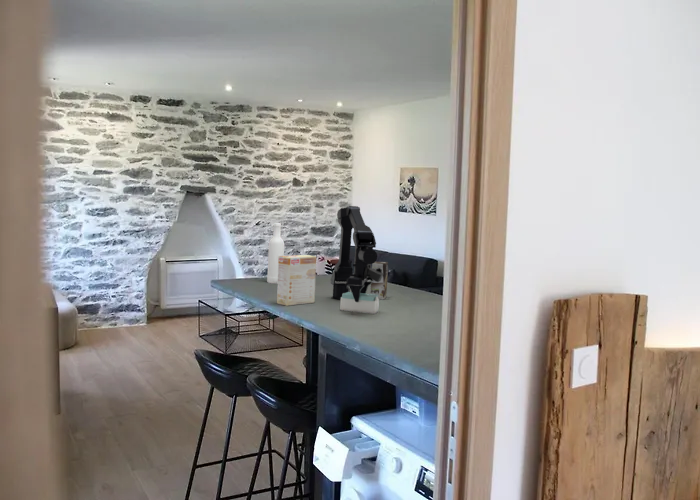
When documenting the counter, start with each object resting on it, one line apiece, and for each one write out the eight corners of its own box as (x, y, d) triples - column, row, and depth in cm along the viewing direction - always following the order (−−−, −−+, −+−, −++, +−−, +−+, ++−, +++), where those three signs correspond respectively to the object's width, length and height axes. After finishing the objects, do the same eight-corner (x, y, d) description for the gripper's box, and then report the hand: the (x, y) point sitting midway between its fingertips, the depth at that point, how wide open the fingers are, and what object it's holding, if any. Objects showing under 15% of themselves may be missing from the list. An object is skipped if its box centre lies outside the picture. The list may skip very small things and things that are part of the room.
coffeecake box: (304, 300, 260) (306, 254, 259) (315, 302, 255) (317, 256, 254) (275, 303, 250) (277, 255, 248) (286, 306, 245) (288, 257, 243)
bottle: (264, 282, 306) (267, 222, 303) (269, 280, 313) (271, 222, 311) (280, 284, 304) (283, 223, 302) (284, 282, 312) (287, 223, 310)
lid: (342, 298, 240) (342, 294, 240) (347, 295, 247) (348, 291, 247) (372, 301, 237) (372, 297, 236) (377, 298, 244) (377, 294, 243)
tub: (339, 310, 242) (340, 294, 241) (344, 307, 247) (345, 292, 247) (374, 313, 237) (375, 298, 237) (378, 311, 243) (379, 295, 242)
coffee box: (383, 299, 272) (386, 263, 271) (369, 298, 273) (371, 262, 272) (386, 296, 281) (388, 261, 280) (373, 295, 282) (374, 260, 281)
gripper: (375, 265, 229) (373, 306, 231) (387, 261, 247) (385, 299, 248) (347, 262, 233) (344, 303, 234) (361, 258, 250) (359, 296, 252)
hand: (359, 300), depth 242 cm, fingers closed on lid, 7 cm apart
